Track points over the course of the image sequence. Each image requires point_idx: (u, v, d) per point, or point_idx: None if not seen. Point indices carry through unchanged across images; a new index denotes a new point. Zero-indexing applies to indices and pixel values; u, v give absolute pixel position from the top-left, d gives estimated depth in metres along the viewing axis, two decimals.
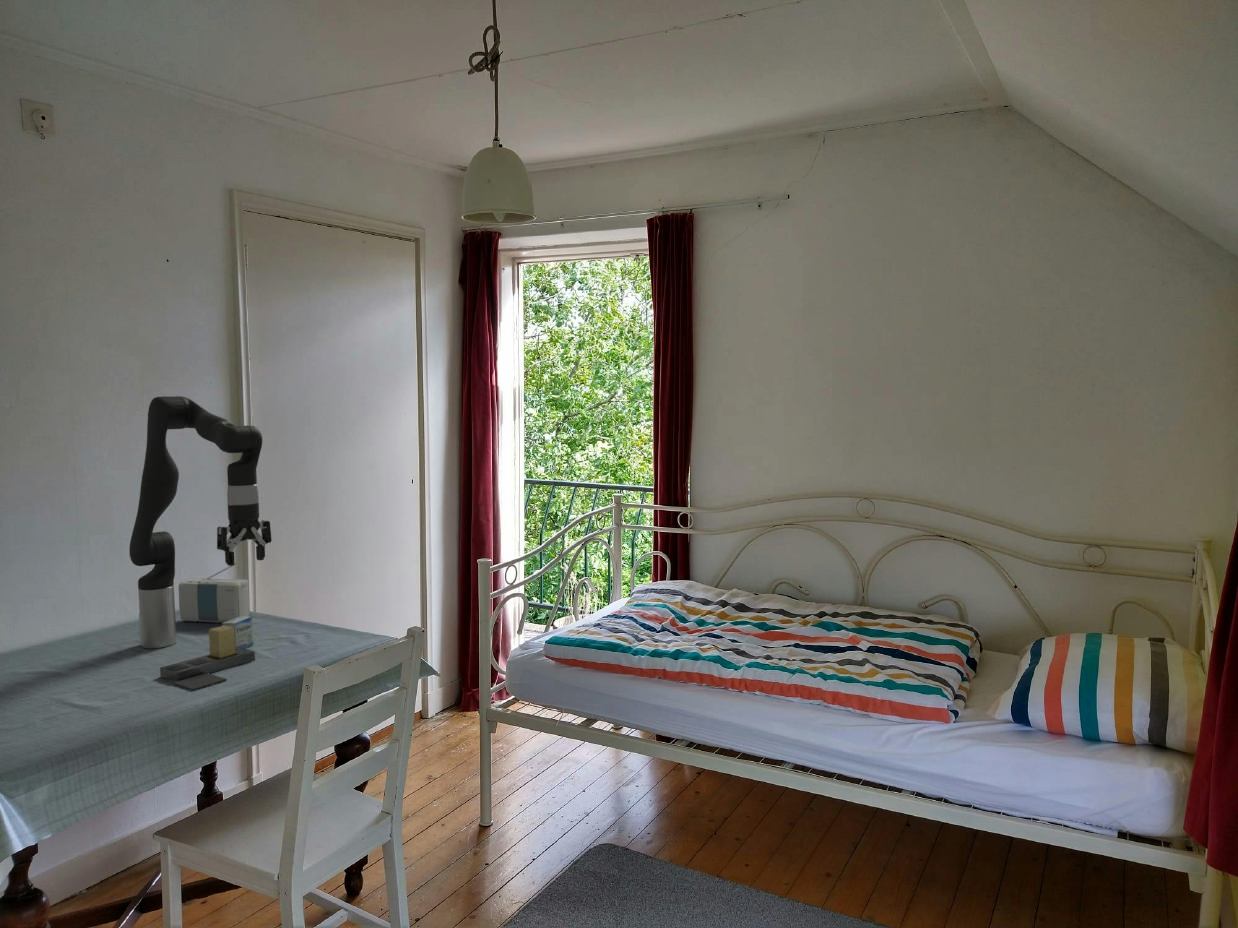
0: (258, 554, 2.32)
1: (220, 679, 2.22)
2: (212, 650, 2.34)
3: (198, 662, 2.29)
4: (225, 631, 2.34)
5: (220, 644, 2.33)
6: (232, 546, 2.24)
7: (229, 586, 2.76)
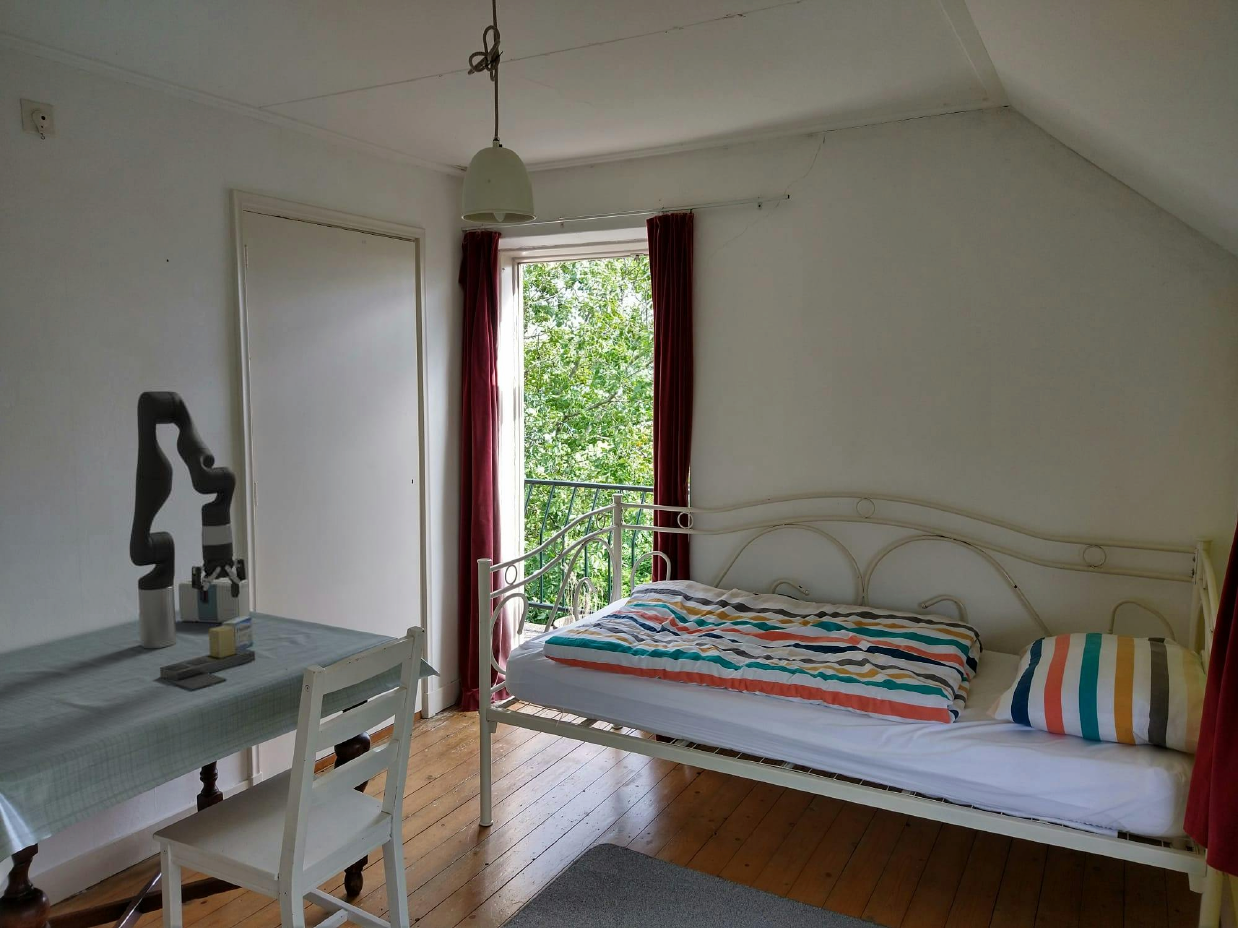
0: (233, 592, 2.38)
1: (220, 679, 2.22)
2: (212, 650, 2.34)
3: (198, 662, 2.29)
4: (225, 631, 2.34)
5: (220, 644, 2.33)
6: (207, 585, 2.30)
7: (229, 586, 2.76)
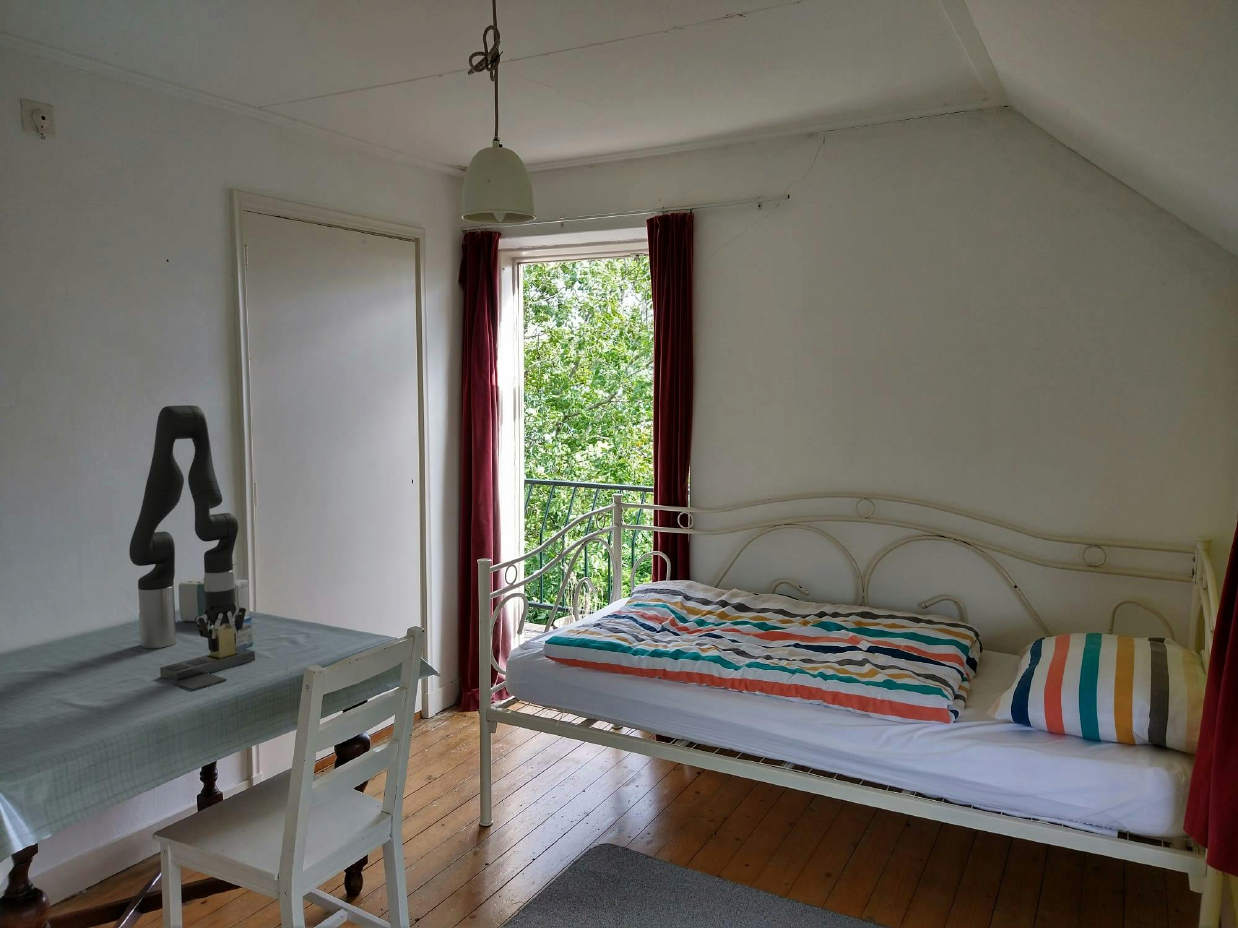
0: None
1: (220, 679, 2.22)
2: None
3: (198, 662, 2.29)
4: (225, 631, 2.34)
5: (220, 644, 2.33)
6: (214, 633, 2.32)
7: None
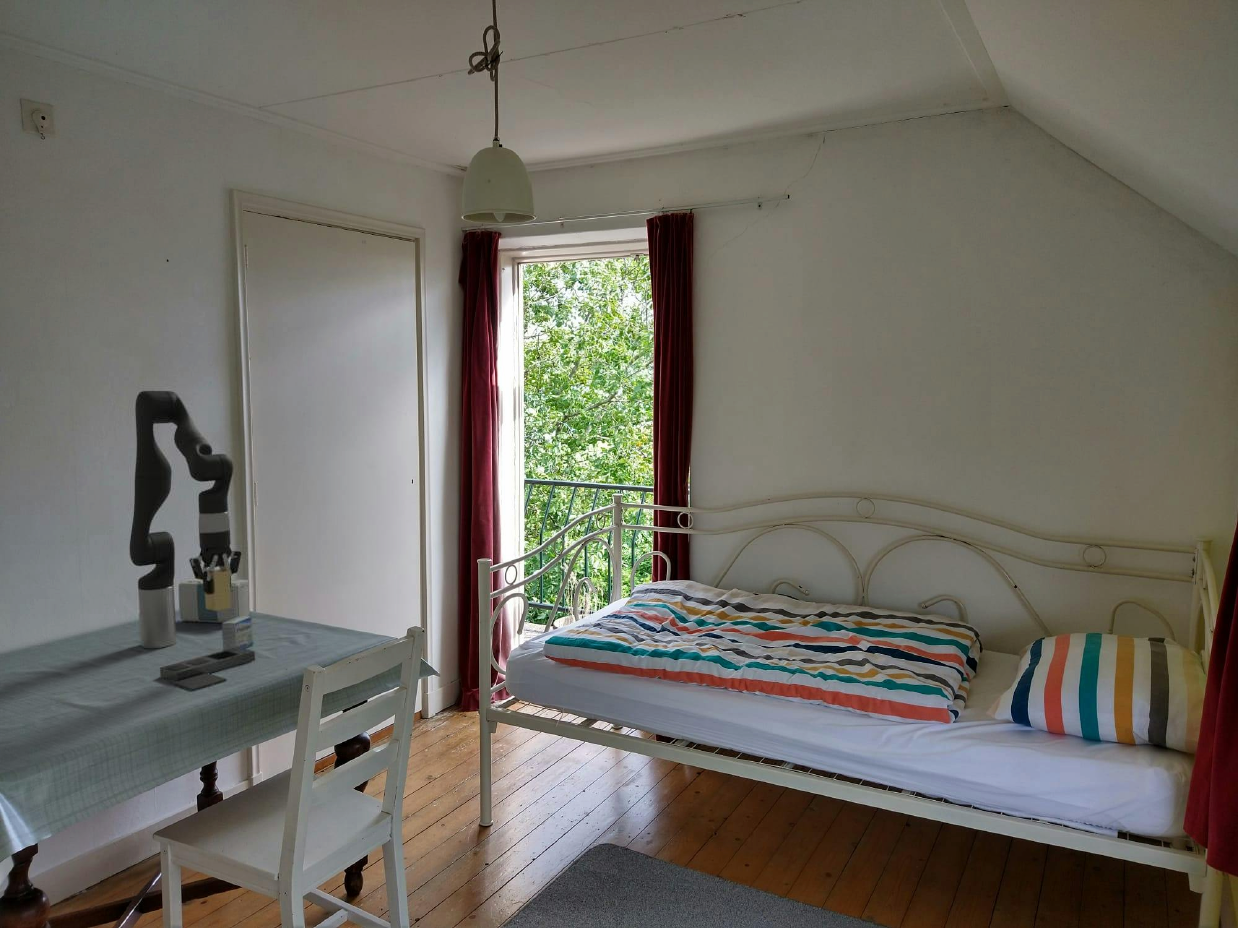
0: None
1: (220, 679, 2.22)
2: None
3: (198, 662, 2.29)
4: (220, 573, 2.30)
5: (216, 586, 2.29)
6: (209, 575, 2.29)
7: None
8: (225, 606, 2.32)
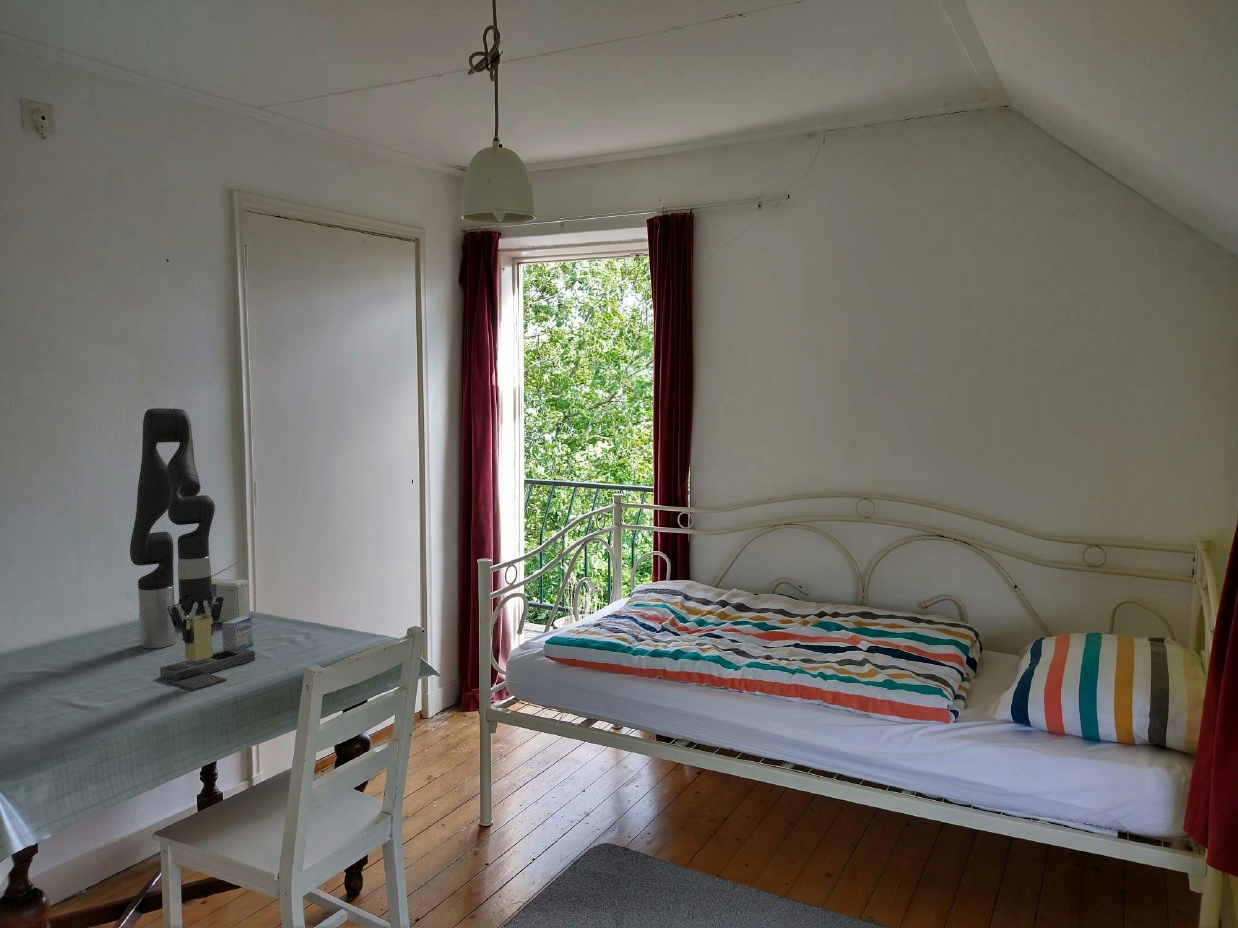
0: None
1: (220, 679, 2.22)
2: None
3: (198, 662, 2.29)
4: (201, 621, 2.18)
5: (196, 635, 2.17)
6: (189, 623, 2.17)
7: (228, 586, 2.76)
8: (206, 656, 2.20)
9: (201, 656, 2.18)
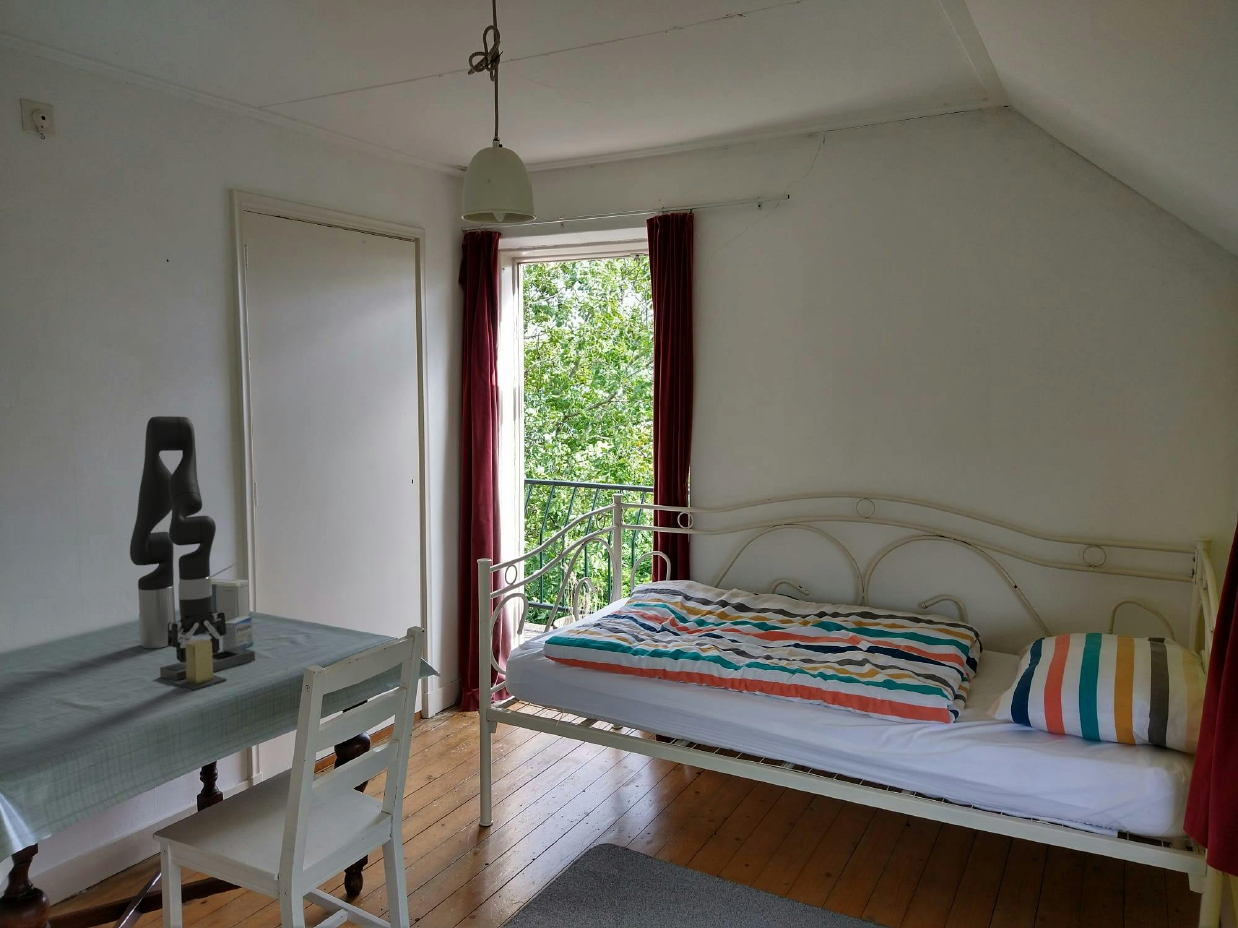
0: (212, 647, 2.24)
1: (220, 679, 2.22)
2: (188, 665, 2.19)
3: None
4: (202, 645, 2.19)
5: (197, 659, 2.18)
6: (184, 642, 2.16)
7: (228, 586, 2.76)
8: (207, 679, 2.20)
9: (202, 680, 2.19)
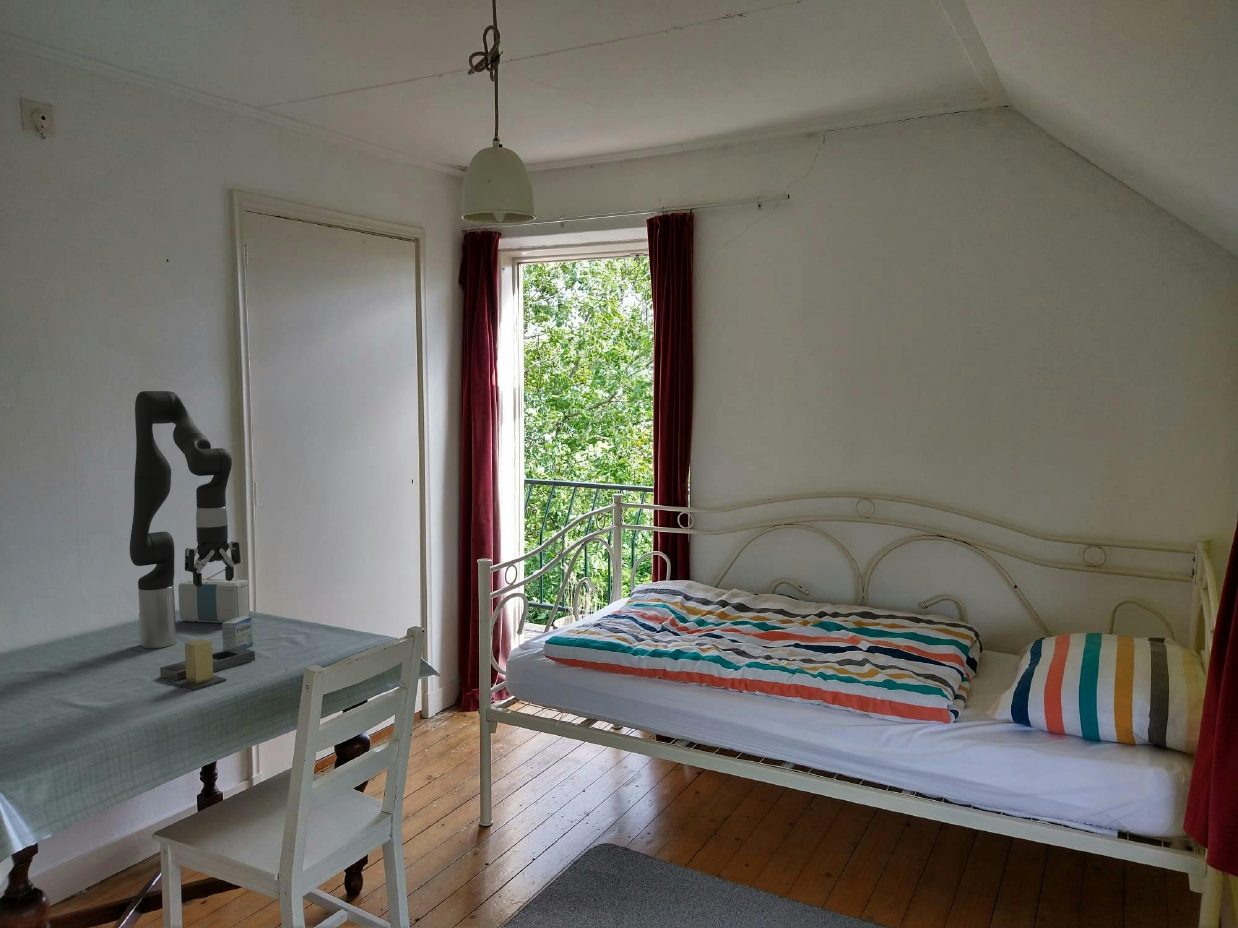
0: (227, 575, 2.34)
1: (220, 679, 2.22)
2: (188, 665, 2.19)
3: None
4: (202, 645, 2.19)
5: (197, 659, 2.18)
6: (200, 568, 2.26)
7: (228, 586, 2.76)
8: (207, 679, 2.20)
9: (202, 680, 2.19)
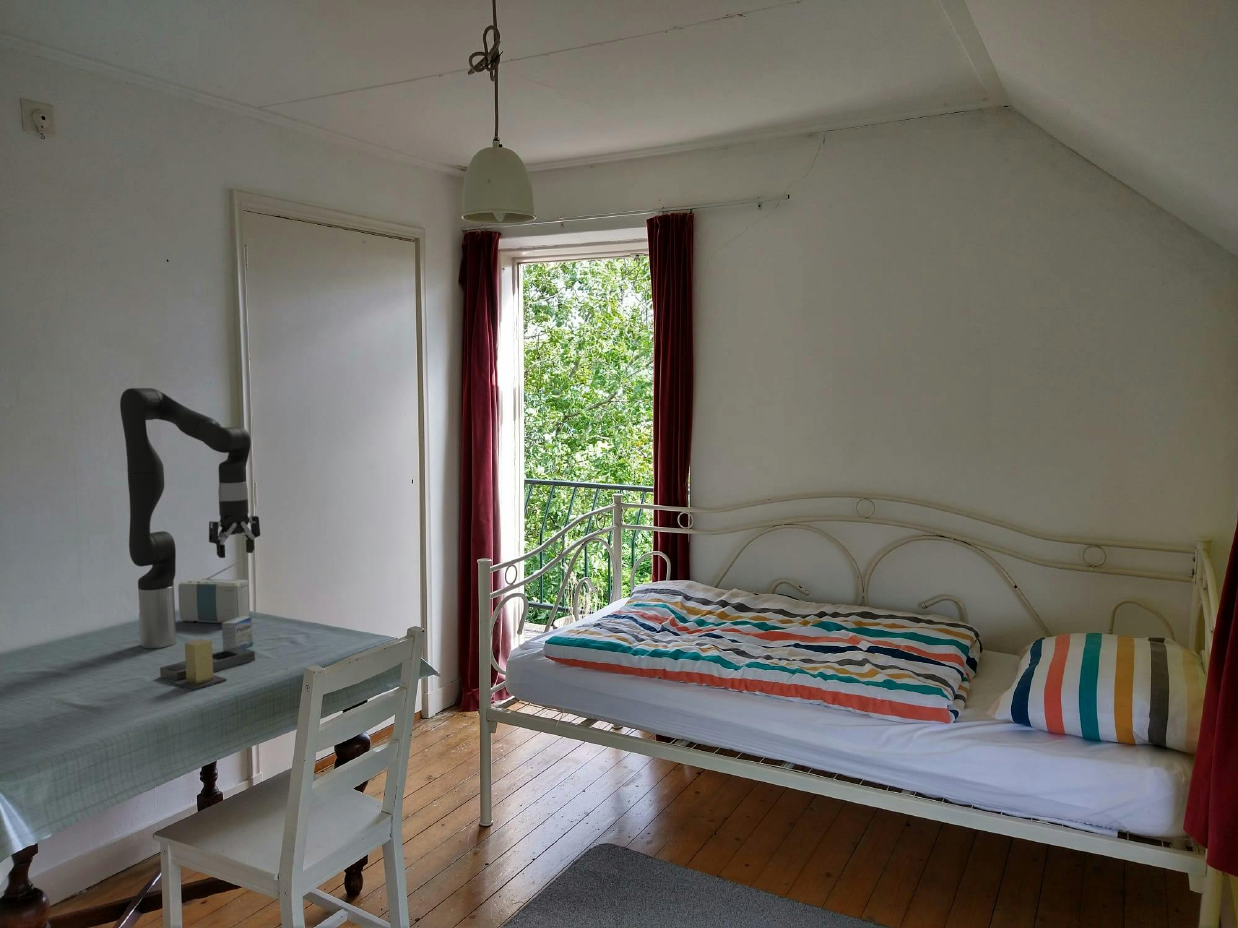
0: (248, 547, 2.48)
1: (220, 679, 2.22)
2: (188, 665, 2.19)
3: None
4: (202, 645, 2.19)
5: (197, 659, 2.18)
6: (223, 539, 2.40)
7: (228, 586, 2.76)
8: (207, 679, 2.20)
9: (202, 680, 2.19)
